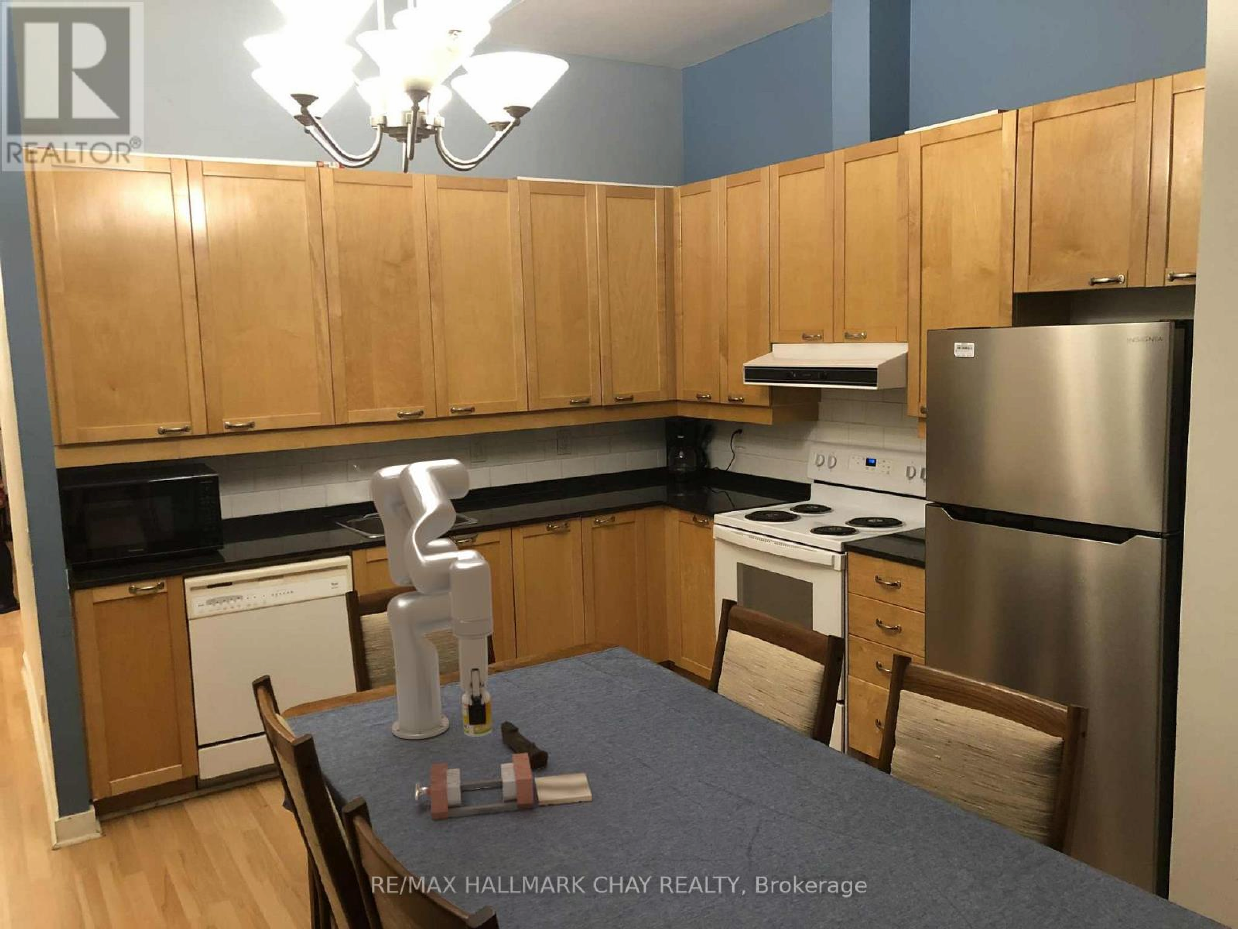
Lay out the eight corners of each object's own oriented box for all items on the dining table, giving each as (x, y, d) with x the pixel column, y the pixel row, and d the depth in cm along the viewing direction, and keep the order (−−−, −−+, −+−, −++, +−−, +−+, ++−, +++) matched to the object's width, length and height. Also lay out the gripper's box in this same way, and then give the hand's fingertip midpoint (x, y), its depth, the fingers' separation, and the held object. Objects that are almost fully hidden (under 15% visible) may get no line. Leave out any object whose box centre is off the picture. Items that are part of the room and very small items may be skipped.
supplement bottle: (497, 727, 195) (494, 679, 194) (484, 739, 190) (482, 689, 189) (471, 724, 197) (469, 676, 195) (458, 736, 192) (455, 686, 190)
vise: (417, 793, 199) (415, 763, 198) (528, 781, 202) (527, 752, 201) (415, 821, 187) (413, 790, 187) (533, 808, 191) (532, 778, 190)
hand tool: (549, 768, 209) (548, 746, 208) (531, 772, 207) (530, 750, 206) (514, 736, 225) (514, 716, 225) (497, 740, 223) (496, 720, 223)
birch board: (534, 782, 202) (534, 778, 201) (585, 777, 203) (584, 772, 203) (539, 806, 192) (539, 801, 192) (591, 800, 193) (591, 795, 193)
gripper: (452, 613, 198) (456, 702, 201) (452, 641, 181) (457, 738, 184) (490, 610, 199) (495, 699, 202) (495, 638, 182) (499, 734, 185)
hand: (477, 716), depth 193 cm, fingers closed on supplement bottle, 5 cm apart
